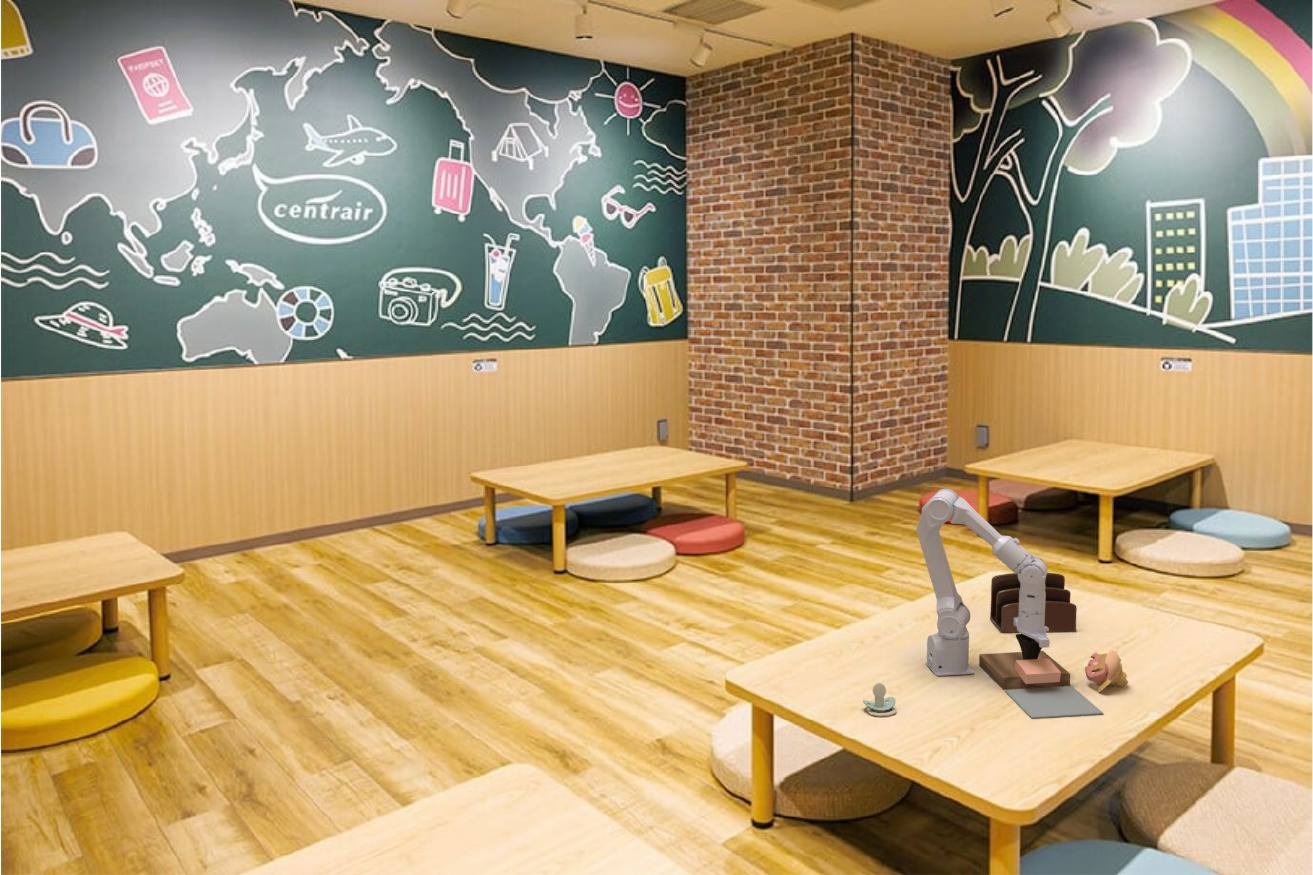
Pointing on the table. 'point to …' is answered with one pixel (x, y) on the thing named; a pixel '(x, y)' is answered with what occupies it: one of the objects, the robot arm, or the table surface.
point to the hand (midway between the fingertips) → (1029, 665)
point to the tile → (1037, 671)
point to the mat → (1053, 702)
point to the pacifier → (880, 702)
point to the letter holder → (1007, 603)
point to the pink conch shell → (1106, 670)
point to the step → (1008, 678)
